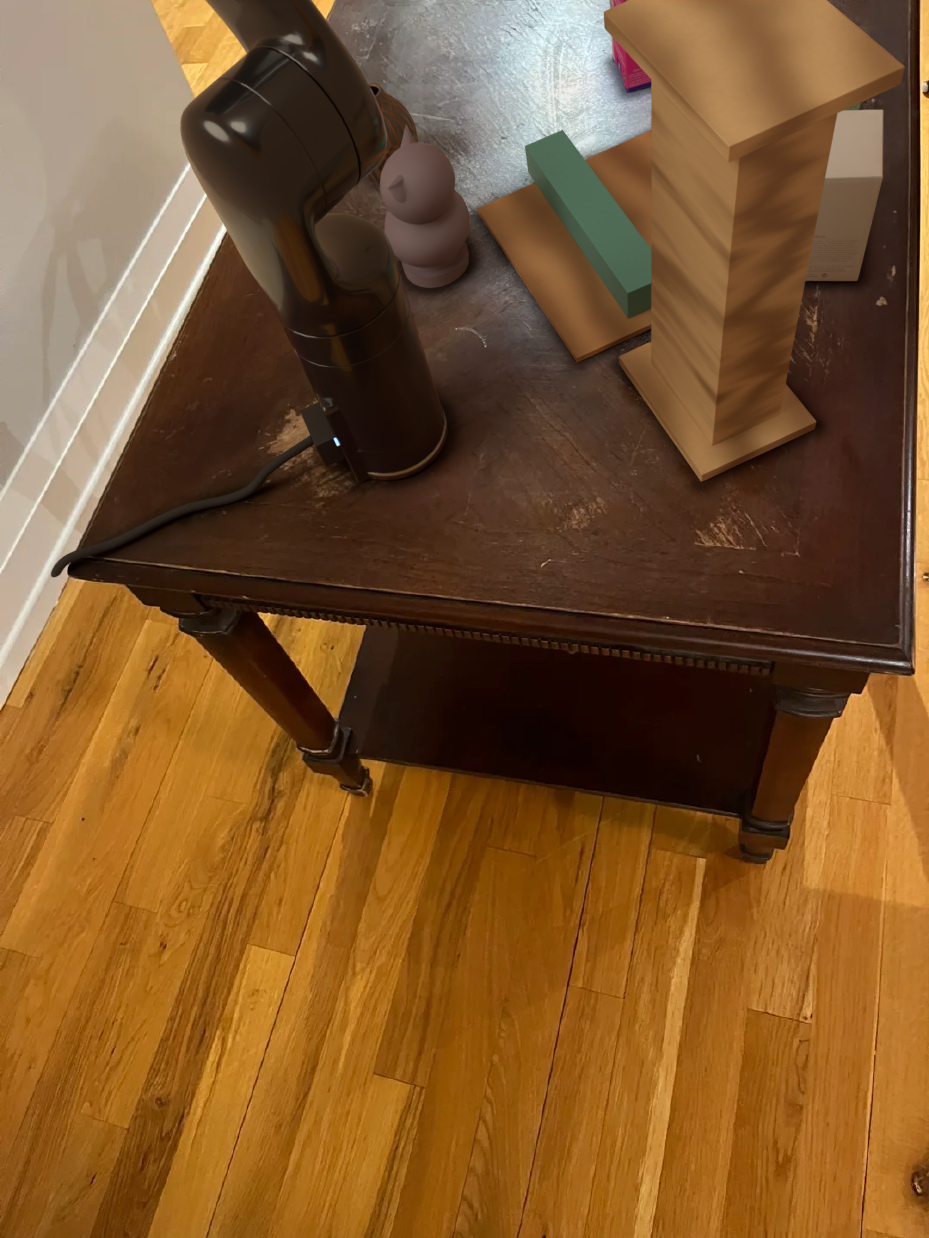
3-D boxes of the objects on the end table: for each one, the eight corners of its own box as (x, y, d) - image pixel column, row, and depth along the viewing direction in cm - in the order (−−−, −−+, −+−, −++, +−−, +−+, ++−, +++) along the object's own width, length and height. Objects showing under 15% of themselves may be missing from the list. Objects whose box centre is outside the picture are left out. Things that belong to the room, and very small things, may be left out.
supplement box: (610, 61, 98) (605, -56, 88) (665, 45, 98) (667, -74, 88) (624, 95, 95) (621, -22, 85) (681, 79, 95) (685, -41, 85)
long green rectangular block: (628, 319, 82) (627, 293, 79) (528, 173, 92) (524, 146, 89) (669, 300, 82) (670, 274, 79) (565, 156, 92) (562, 129, 89)
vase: (351, 164, 98) (325, 85, 90) (411, 138, 98) (391, 58, 91) (371, 203, 95) (346, 125, 87) (433, 177, 95) (414, 96, 87)
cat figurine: (470, 297, 87) (445, 188, 76) (389, 298, 89) (354, 191, 78) (483, 230, 90) (461, 117, 80) (405, 232, 92) (374, 122, 82)
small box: (857, 284, 80) (884, 178, 70) (788, 283, 81) (806, 179, 72) (860, 216, 83) (886, 106, 74) (793, 216, 84) (811, 109, 75)
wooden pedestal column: (701, 482, 74) (729, 146, 47) (619, 364, 80) (603, 11, 54) (814, 429, 74) (905, 66, 48) (723, 316, 81) (758, -59, 54)
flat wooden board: (577, 363, 81) (576, 358, 81) (477, 213, 92) (476, 208, 91) (783, 268, 82) (784, 262, 81) (661, 130, 92) (661, 124, 92)
